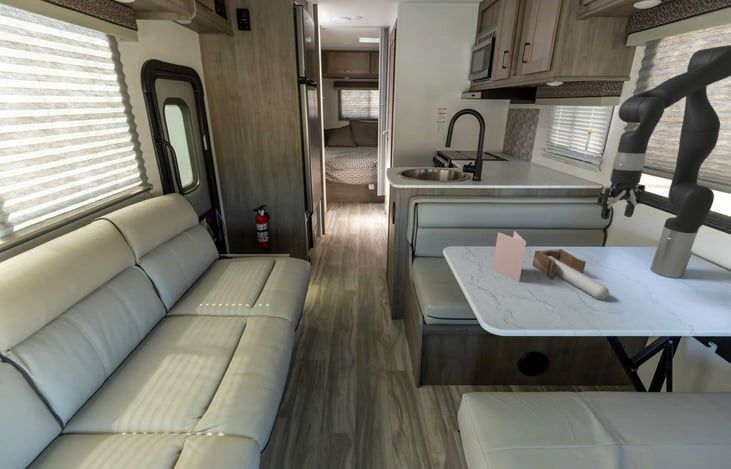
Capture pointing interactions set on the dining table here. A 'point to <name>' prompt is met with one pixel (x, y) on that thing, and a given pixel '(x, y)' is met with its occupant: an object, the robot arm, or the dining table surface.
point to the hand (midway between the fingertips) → (616, 217)
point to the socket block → (549, 265)
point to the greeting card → (509, 255)
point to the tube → (581, 280)
